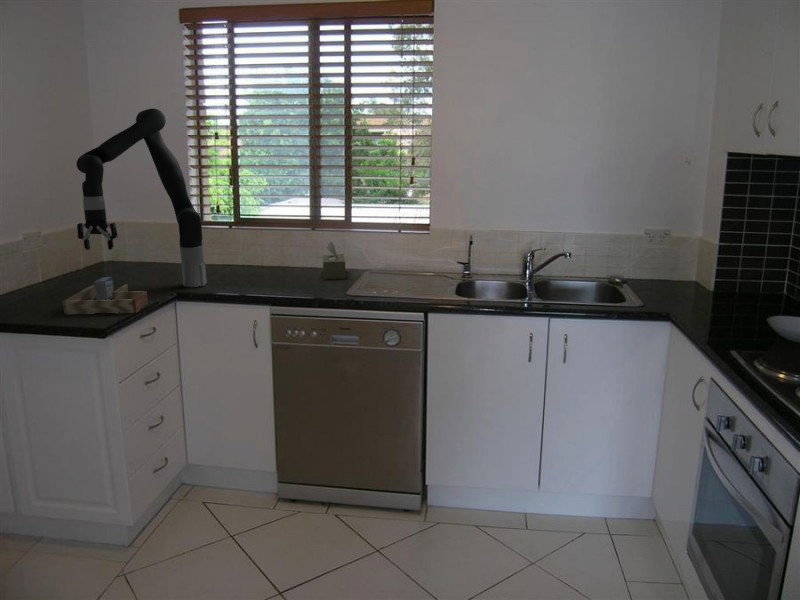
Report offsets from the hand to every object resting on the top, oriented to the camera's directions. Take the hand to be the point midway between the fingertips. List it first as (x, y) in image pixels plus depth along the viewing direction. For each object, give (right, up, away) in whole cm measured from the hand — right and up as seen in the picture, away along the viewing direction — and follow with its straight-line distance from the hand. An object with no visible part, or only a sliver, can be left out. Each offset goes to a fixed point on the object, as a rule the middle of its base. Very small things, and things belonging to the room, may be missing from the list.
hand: (99, 249), depth 258 cm
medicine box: (0, -20, +5) cm, 21 cm away
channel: (+6, -22, -2) cm, 23 cm away
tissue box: (+87, -8, +49) cm, 100 cm away
